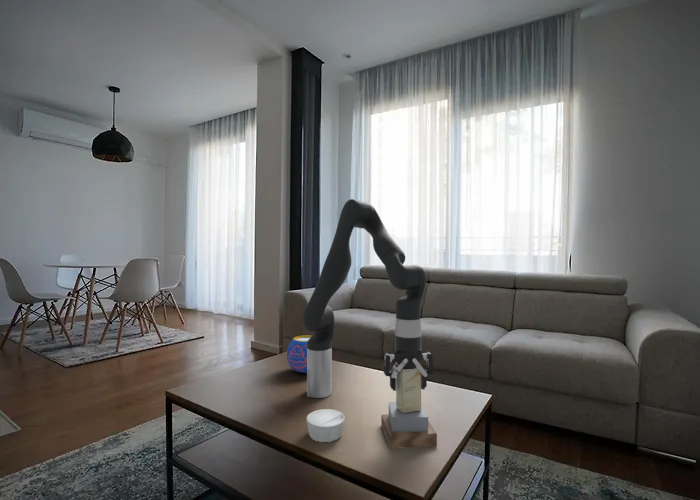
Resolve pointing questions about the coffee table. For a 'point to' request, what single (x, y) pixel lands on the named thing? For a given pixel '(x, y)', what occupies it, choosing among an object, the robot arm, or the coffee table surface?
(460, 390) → the coffee table surface
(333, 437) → the ramekin
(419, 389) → the skincare box
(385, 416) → the walnut base block
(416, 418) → the slate top block
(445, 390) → the coffee table surface
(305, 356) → the ceramic pot
